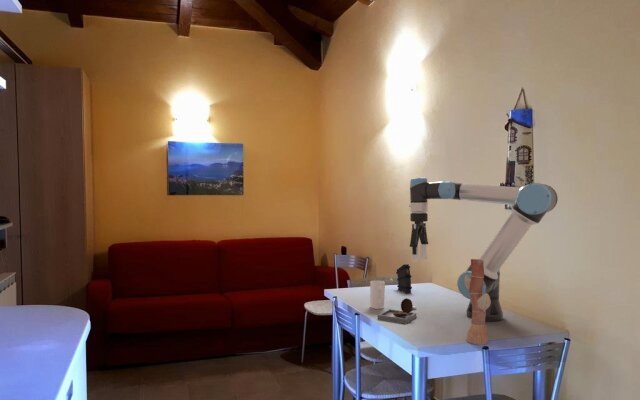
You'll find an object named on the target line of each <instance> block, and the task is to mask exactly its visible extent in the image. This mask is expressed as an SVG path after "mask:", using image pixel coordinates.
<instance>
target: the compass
mask: <svg viewBox="0 0 640 400" xmlns="http://www.w3.org/2000/svg"><path fill="white" fill-rule="evenodd" d="M413 306H414V305H413V301H412V300H411V299H410V298H409V297H408V298H407V297H405V298H404V299H402V301H401V303H400V309H401V311H403V312H395V313H394V314H393V315H394V316H408V315H409V314H407V313H409V312H411V311H412V307H413Z"/></svg>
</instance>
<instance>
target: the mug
mask: <svg viewBox="0 0 640 400" xmlns="http://www.w3.org/2000/svg"><path fill="white" fill-rule="evenodd" d="M385 289H386V281H384V280H371V281H370V288H369V292H370V296H369V297H370V304H369V305H370V308H371V309H376V310H382V309H384V308H385V291H386V290H385Z"/></svg>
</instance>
